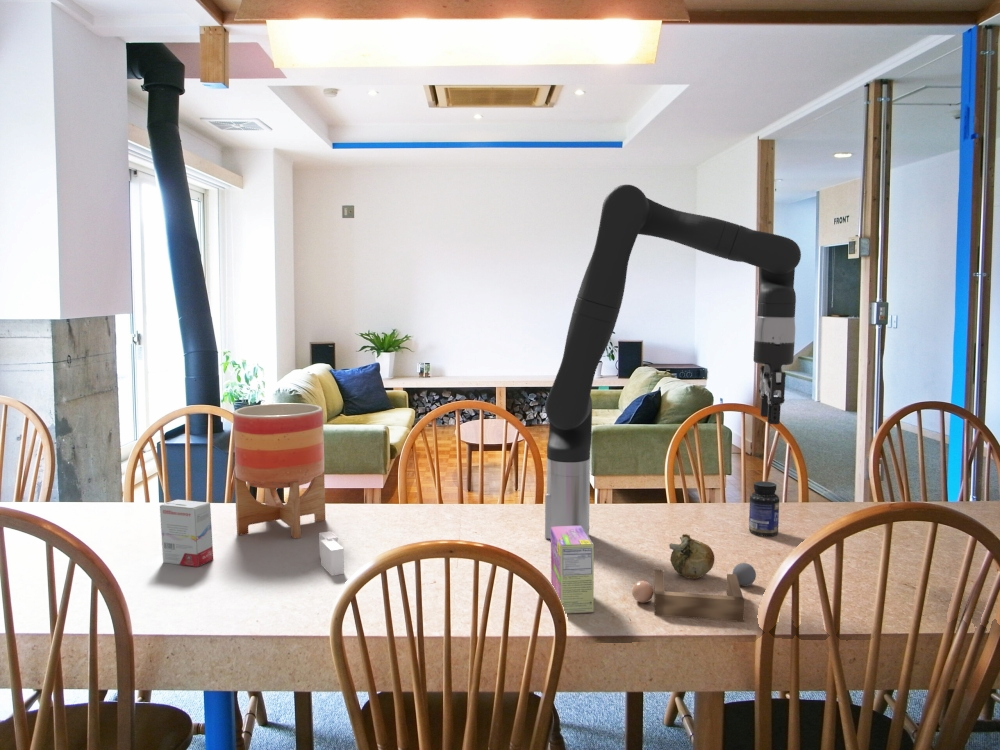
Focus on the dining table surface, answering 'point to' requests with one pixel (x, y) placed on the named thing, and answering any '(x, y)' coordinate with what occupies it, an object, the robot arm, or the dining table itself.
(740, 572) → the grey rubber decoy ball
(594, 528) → the dining table surface
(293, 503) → the planter
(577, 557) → the box
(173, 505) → the ink box
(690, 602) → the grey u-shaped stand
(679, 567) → the onion
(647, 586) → the glossy pink ball
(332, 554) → the white stepped block
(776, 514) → the pill bottle
